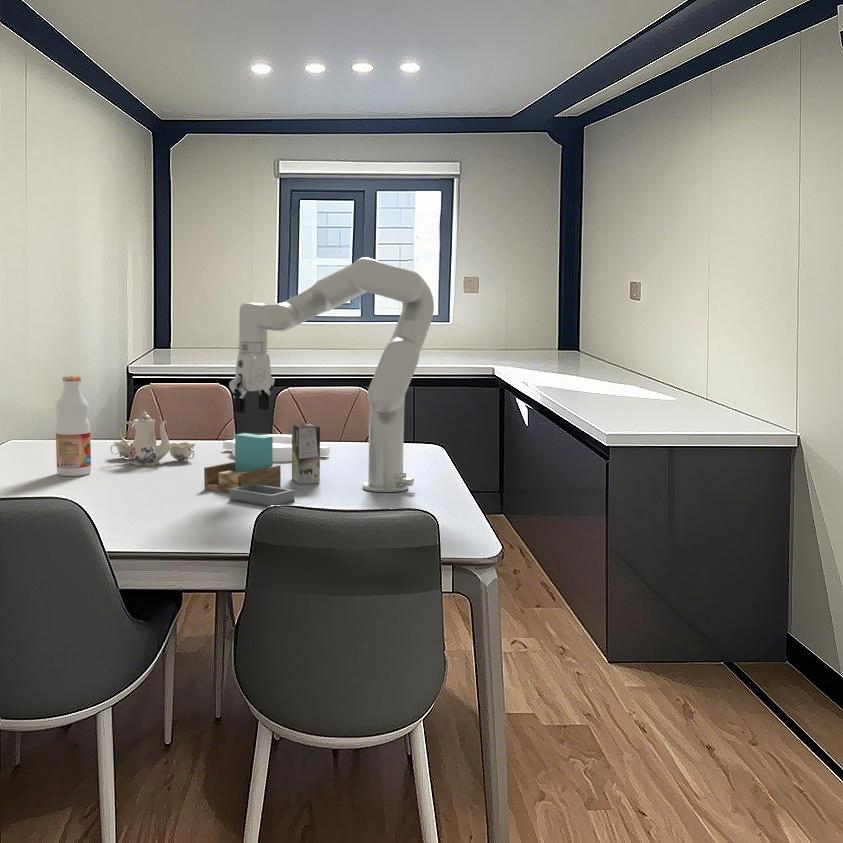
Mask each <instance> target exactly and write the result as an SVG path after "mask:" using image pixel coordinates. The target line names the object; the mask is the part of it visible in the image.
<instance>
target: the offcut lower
mask: <svg viewBox="0 0 843 843" xmlns="http://www.w3.org/2000/svg"><path fill="white" fill-rule="evenodd" d="M219 485H220V486H226V487H233V488H236V487H241V484H240V485H235V484H229V483H223V482H219Z"/></svg>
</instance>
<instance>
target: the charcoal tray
mask: <svg viewBox="0 0 843 843" xmlns="http://www.w3.org/2000/svg"><path fill="white" fill-rule="evenodd" d="M295 492H296V491H295V489H290V488H284V487H271V486H265V485H258V484H249V485H245V486H241V487H236V488H232V489H230V494H229V502H230V501H231V502H237V503H241V504H247V505H248V504H249V505H254V506H261V507H266V508H269V507H268V506H271V505H280V506H282V505H281V504H283V505H287V504H291V503H294V502H295Z"/></svg>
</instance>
